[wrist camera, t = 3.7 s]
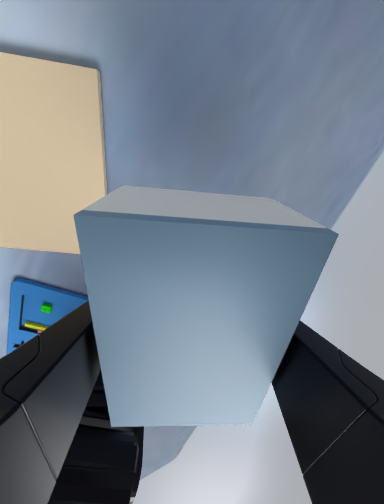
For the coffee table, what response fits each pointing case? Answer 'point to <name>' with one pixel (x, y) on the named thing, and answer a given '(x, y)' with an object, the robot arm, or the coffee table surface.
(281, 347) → the card box
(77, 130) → the cork mat
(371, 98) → the coffee table surface
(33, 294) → the handheld gaming device
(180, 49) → the coffee table surface
